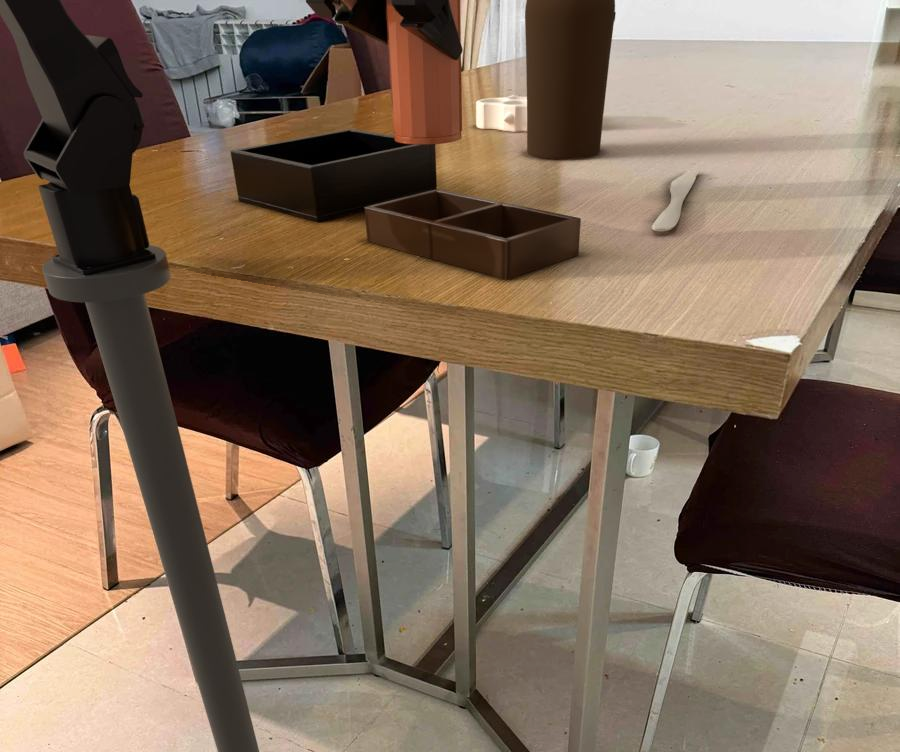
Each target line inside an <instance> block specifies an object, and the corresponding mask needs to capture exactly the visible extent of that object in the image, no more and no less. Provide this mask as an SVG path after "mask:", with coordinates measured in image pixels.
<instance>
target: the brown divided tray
mask: <svg viewBox="0 0 900 752" xmlns="http://www.w3.org/2000/svg"><path fill="white" fill-rule="evenodd" d="M364 209H365V210H364V218H365V219H364V220H365V230H366V242H369V243H373V244H375V245H379V246H383V247H387V248H390V249H394V250H397V251H401V252H405V253H409V254H412V255H416V256H418V257H423V258H426V259H430V260H433V261H438V262H441V263H445V264H449V265H452V266H455V267H459V268H463V269H466V270H469V271H474V272H476V273H477V272H478V273H480V274H484V275H488V276H492V277H495V278H499V279H502V280H510V279H513V278H515V277H519V276H521V275H524V274H527V273H530V272H532V271H535V270H538V269H542V268H544V267H547V266H550V265H553V264H555V263H559V262H562V261H564V260H567V259H570V258H573V257H576V256H579V254H580V240H581V239H580V238H581V225H582V224H581V223H582V222H581V221H582V219H581V217H578V216H572V215H567V214H562V213H557V212H552V211H547V210H543V209H538V208H534V207H528V206H524V205H518V204H512V203H508V202H503V201H498V200H493V199H489V198H485V197H484V198H483V197H478V196H474V195H468V194H463V193H459V192H454V191H448V190H444V189H439V188H437V189H436V190H432V191H428V192H424V193H420V194H415V195H411V196H407V197H403V198H399V199H395V200H391V201H387V202H383V203H379V204H375V205H371V206H367V207H364Z"/></svg>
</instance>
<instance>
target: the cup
mask: <svg viewBox="0 0 900 752" xmlns="http://www.w3.org/2000/svg"><path fill="white" fill-rule="evenodd" d="M385 1H386V18H387V35H388V45H387V51H388V66H389V83H390V85H389V86H390V98H391V115H392V131H393V132H392V133H393V136H394V140H395V141H396V142H399V143H403V144H413V145H431V144H435V145H443V144H449V143H454V142H457V141H459V140H460V141H461V140H462V137H463V136H462V134H463V133H462V132H463V103H462V102H463V100H462V99H463V98H462V96H463V95H462V94H463V92H462V89H463V88H462V54H461V55H460V57H459V59H458V60H454V59H452V58H450V57H448V56H447V55H445V54H443V53H442V52H440V51H439V50H437V49H436V48H434V47H433V46H431V45H429V44H428V43H426V42H425V41H423V40H422V39H420V38H419V37H417V36H415V35H414V34H412V33H411V32H409V31H408V30H406V29H405V28H403V27H402V26H400V23H401V21H402V20H403V17H402V16H401V15H399V13H398V12H397V11H396V10H395V8H394V7H393V6H392V0H385ZM449 2H450V7H451V11H452V15H453V18H454V22H455V25H456V28H457V32H458V35H459V38H460V42H461V43H462V36H461V35H462V31H461V0H449Z"/></svg>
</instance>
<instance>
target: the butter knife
mask: <svg viewBox="0 0 900 752" xmlns="http://www.w3.org/2000/svg"><path fill="white" fill-rule="evenodd" d="M699 172H700V170H698V169H692V170H689V171H687V172H685V173H683V174H681V175H679V176H678V177H676V178H674V179H673V180H672V181H671V183H670V186H669V192H670V196H671V197H670V203H669V205H668V206H667V207H666V208H665V209H664V210H663V211H662V212H661V213H660V214H659V216H657V218H656V220H655V221H654V222H653V224H652V225H651V229H652V230H653V231H656V232H668V231H670V230H673V228H675V226H676V225H677V224H678V222H679V220H680V217H681V215H682V206H683V204H684V203H683V202H684V200H685V198H686V197H687V195H688V194H689V191H690V190H691V189H692V187H693V185H694V183H695V181H696V178H697V176H698V174H699Z"/></svg>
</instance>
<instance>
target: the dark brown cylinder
mask: <svg viewBox="0 0 900 752" xmlns="http://www.w3.org/2000/svg"><path fill="white" fill-rule="evenodd" d="M524 8H525V9H524V26H525V27H524V28H525V29H524V31H525V68H526V71H525V73H526V76H525V77H526V97H527V132H526V151H527V154H528V155H529V156H532V157H534V158H538V159H539V158H540V159H545V160H546V159H548V160H574V159H575V160H576V159H583V158H589V157H592V156H595V155H597V154H599V153H600V151H601V143H602V133H603V124H604V123H603V121H604V112H605V104H606V103H605V102H606V93H607V85H608V77H609V76H608V75H609V69H610V68H609V67H610V59H611V58H610V57H611V48H612V42H613V41H612V40H613V33H614V24H615V20H616V14H617V12H616V0H526V2H525V7H524Z"/></svg>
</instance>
